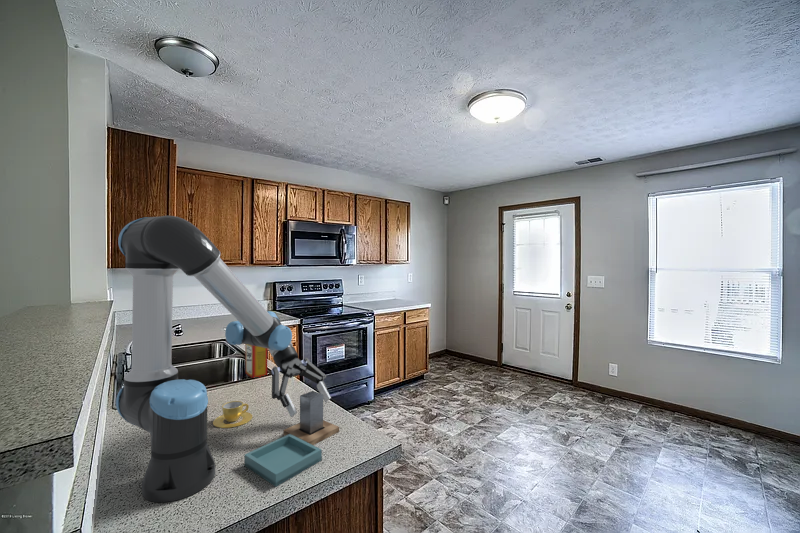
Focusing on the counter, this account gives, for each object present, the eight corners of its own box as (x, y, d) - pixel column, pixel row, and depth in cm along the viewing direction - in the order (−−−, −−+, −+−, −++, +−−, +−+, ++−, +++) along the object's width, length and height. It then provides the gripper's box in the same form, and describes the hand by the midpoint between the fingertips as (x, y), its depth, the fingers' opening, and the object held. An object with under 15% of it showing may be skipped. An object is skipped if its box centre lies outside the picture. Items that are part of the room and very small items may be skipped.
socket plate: (308, 447, 103) (308, 442, 103) (283, 434, 110) (283, 430, 110) (339, 431, 112) (339, 426, 112) (314, 420, 119) (314, 416, 119)
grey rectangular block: (310, 439, 108) (310, 399, 107) (299, 434, 111) (299, 395, 110) (323, 432, 112) (323, 394, 111) (312, 427, 114) (312, 390, 114)
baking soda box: (267, 375, 164) (267, 341, 164) (253, 378, 160) (252, 343, 159) (259, 370, 171) (259, 337, 171) (245, 373, 167) (245, 339, 166)
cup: (218, 432, 111) (218, 415, 111) (209, 419, 120) (208, 403, 120) (257, 421, 119) (257, 405, 119) (246, 409, 128) (246, 394, 128)
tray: (276, 486, 85) (276, 474, 85) (244, 465, 93) (244, 454, 93) (321, 460, 96) (321, 449, 96) (289, 443, 105) (289, 433, 105)
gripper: (307, 350, 133) (335, 400, 125) (244, 367, 113) (272, 428, 104) (316, 338, 130) (346, 389, 121) (253, 353, 109) (283, 415, 101)
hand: (312, 407), depth 113 cm, fingers open, 13 cm apart
